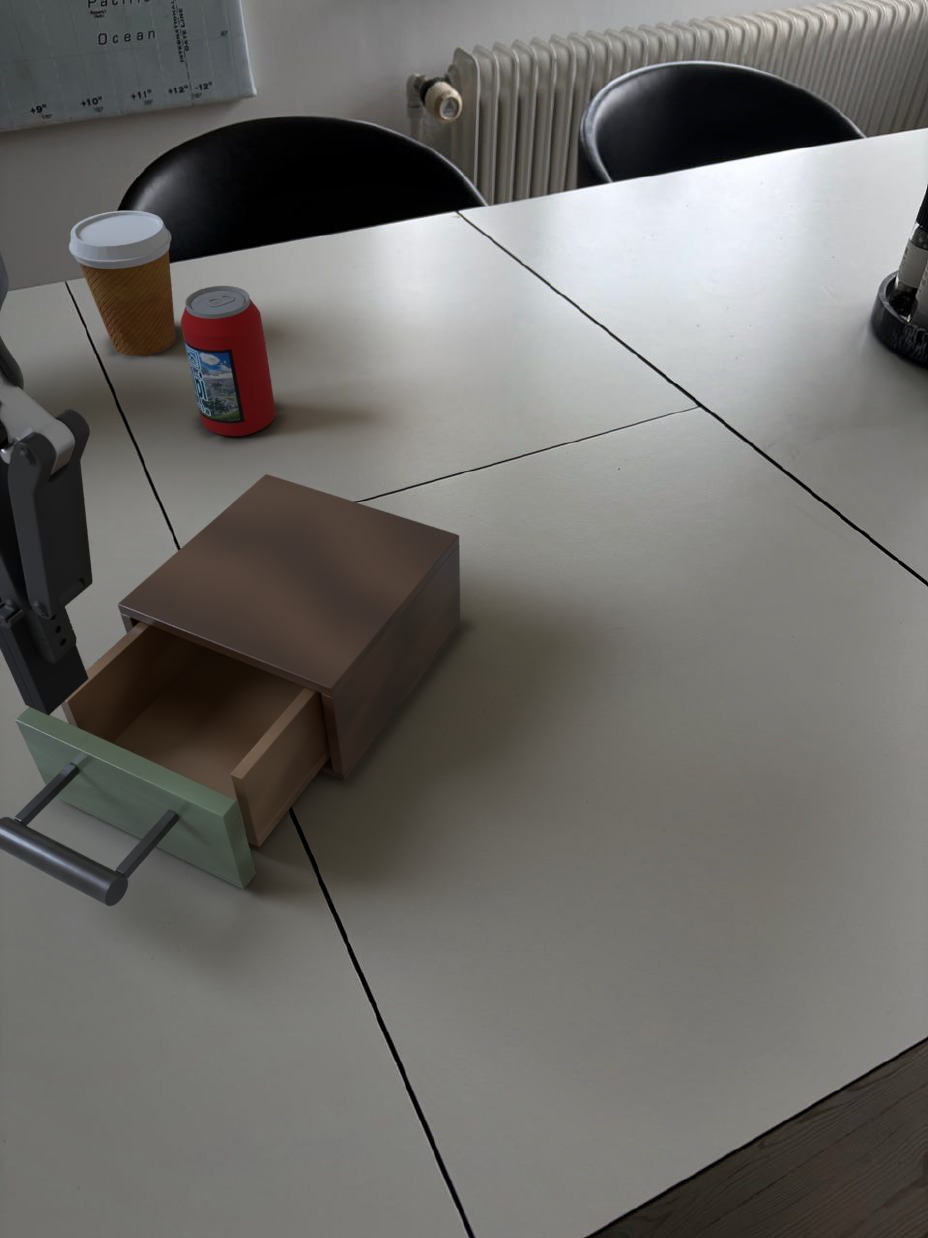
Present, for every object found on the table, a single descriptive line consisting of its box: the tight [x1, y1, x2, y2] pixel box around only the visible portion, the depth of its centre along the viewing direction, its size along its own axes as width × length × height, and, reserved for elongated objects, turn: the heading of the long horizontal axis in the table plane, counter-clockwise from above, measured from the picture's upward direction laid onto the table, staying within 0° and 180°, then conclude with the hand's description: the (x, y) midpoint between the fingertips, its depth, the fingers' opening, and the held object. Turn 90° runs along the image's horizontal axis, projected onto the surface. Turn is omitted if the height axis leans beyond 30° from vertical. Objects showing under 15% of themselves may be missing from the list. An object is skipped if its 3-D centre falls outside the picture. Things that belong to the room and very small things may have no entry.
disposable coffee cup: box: [68, 210, 177, 357], centre depth 100 cm, size 10×10×12 cm
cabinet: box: [117, 473, 461, 781], centre depth 67 cm, size 16×16×9 cm
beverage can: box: [180, 285, 276, 437], centre depth 88 cm, size 7×7×12 cm
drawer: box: [0, 621, 331, 907], centre depth 59 cm, size 20×14×7 cm
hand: (57, 691), depth 49 cm, fingers closed
